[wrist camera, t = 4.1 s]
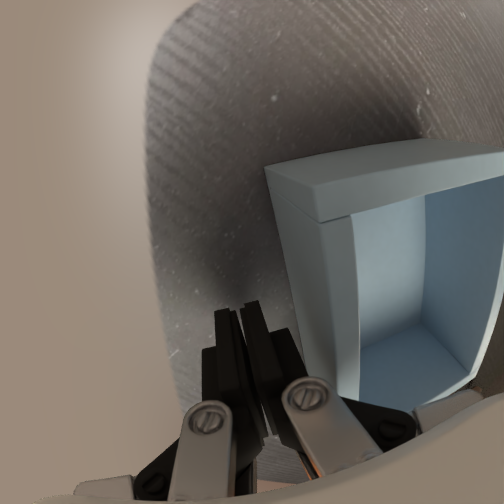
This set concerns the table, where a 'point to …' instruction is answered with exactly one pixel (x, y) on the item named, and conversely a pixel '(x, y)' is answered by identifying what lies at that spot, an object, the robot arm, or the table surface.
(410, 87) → the table surface
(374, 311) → the basket
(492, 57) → the table surface
